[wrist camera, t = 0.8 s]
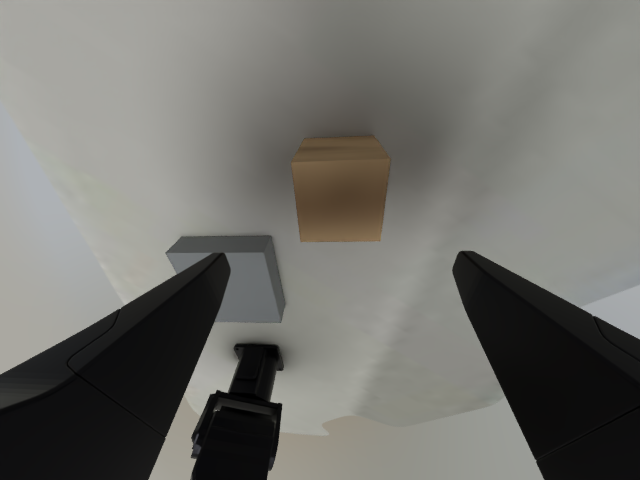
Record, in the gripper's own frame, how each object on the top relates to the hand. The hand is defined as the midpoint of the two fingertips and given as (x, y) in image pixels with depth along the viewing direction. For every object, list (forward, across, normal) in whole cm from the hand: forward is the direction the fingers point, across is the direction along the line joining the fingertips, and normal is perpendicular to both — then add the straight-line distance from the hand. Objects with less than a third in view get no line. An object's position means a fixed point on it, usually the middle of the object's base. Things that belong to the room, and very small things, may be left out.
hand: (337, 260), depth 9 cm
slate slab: (+11, +11, +11) cm, 19 cm away
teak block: (+11, 0, 0) cm, 11 cm away
